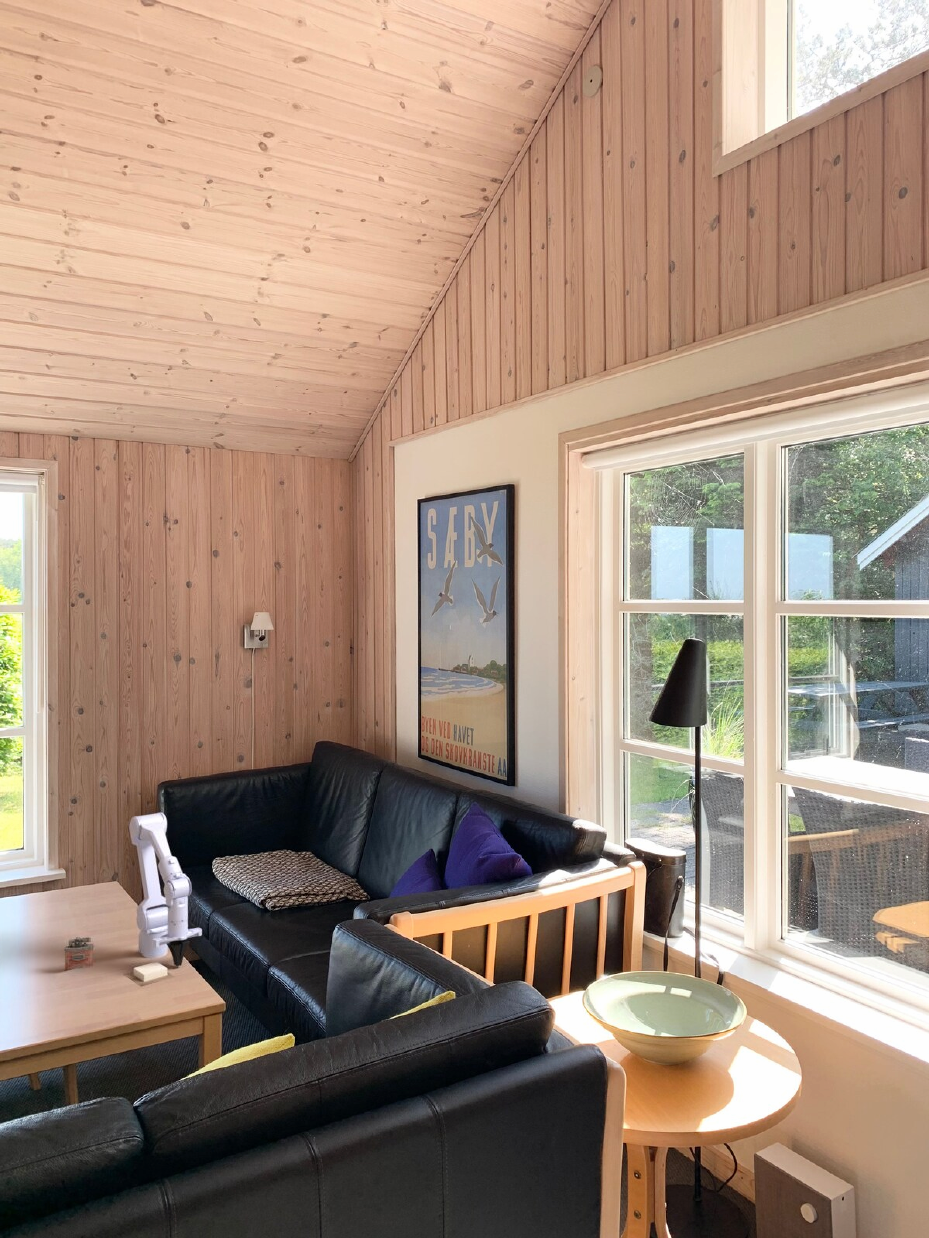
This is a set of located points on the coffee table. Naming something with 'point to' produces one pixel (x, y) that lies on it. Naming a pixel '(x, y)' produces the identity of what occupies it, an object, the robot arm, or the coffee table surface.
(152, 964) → the cream flat block
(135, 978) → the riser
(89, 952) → the lighter
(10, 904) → the coffee table surface
